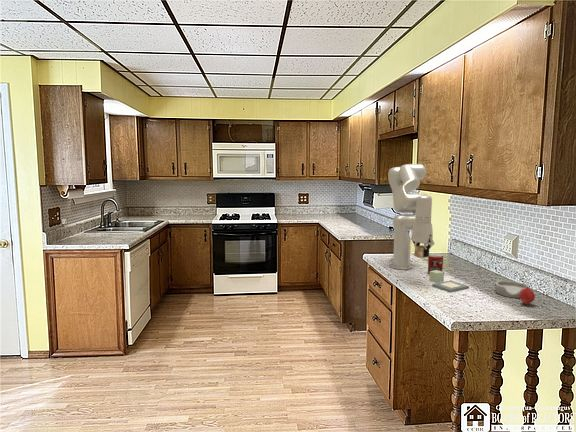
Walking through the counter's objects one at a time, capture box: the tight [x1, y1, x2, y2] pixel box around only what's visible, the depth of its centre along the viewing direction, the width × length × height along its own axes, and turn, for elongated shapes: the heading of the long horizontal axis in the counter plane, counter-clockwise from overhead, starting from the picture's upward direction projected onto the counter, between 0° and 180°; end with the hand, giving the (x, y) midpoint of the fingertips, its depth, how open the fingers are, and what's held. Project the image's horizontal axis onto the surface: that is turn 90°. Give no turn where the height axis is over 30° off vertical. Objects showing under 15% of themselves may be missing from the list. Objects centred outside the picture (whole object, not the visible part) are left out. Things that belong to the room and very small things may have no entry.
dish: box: [493, 280, 531, 299], centre depth 186 cm, size 14×14×5 cm
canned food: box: [427, 252, 444, 275], centre depth 221 cm, size 8×8×11 cm
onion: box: [519, 286, 536, 305], centre depth 171 cm, size 6×6×8 cm
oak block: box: [413, 244, 429, 259], centre depth 201 cm, size 5×5×5 cm
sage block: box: [428, 270, 445, 283], centre depth 208 cm, size 5×5×5 cm
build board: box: [431, 280, 470, 293], centre depth 196 cm, size 11×13×1 cm
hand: (421, 255), depth 201 cm, fingers closed on oak block, 5 cm apart
